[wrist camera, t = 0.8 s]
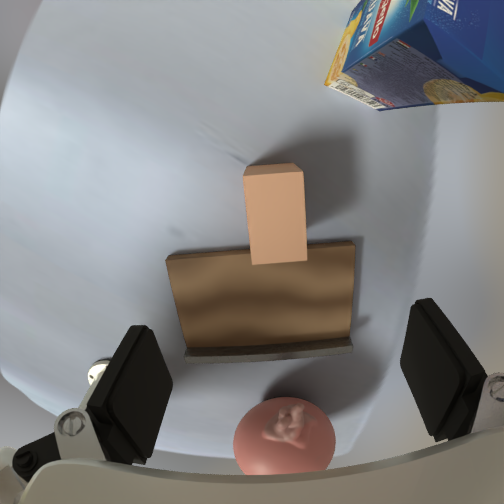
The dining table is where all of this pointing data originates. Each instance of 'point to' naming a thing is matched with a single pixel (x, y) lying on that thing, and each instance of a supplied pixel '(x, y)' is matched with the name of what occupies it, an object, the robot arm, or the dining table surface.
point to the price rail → (269, 351)
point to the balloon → (284, 438)
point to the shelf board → (263, 296)
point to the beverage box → (421, 53)
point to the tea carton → (275, 213)
